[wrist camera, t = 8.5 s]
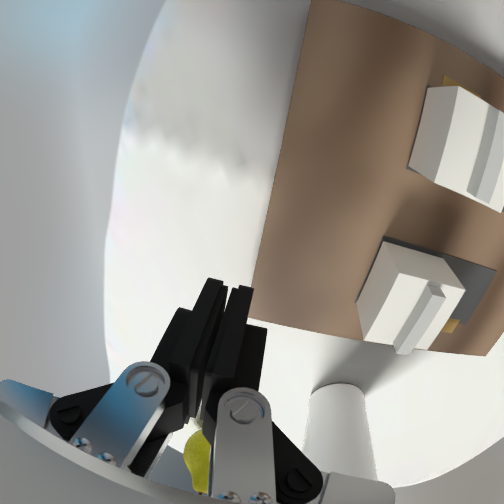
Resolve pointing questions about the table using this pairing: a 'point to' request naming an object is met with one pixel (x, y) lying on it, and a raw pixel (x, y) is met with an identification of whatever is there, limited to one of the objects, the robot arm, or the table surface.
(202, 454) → the fruit
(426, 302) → the tab
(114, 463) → the robot arm
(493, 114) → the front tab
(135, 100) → the table surface
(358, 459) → the drinking glass
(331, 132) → the switch board
